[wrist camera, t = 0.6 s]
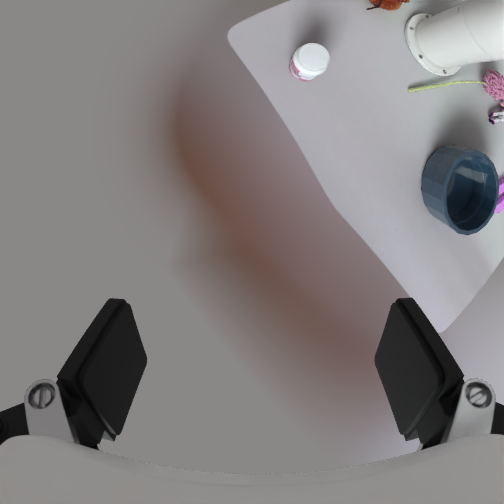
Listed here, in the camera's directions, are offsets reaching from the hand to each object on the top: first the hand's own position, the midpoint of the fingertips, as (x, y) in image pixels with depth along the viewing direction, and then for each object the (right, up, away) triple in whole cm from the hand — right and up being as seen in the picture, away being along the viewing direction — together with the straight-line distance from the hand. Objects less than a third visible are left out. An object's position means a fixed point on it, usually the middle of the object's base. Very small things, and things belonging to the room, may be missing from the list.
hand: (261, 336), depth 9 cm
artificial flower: (+37, +33, +25) cm, 56 cm away
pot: (+37, +16, +33) cm, 51 cm away
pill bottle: (+8, +31, +26) cm, 41 cm away
